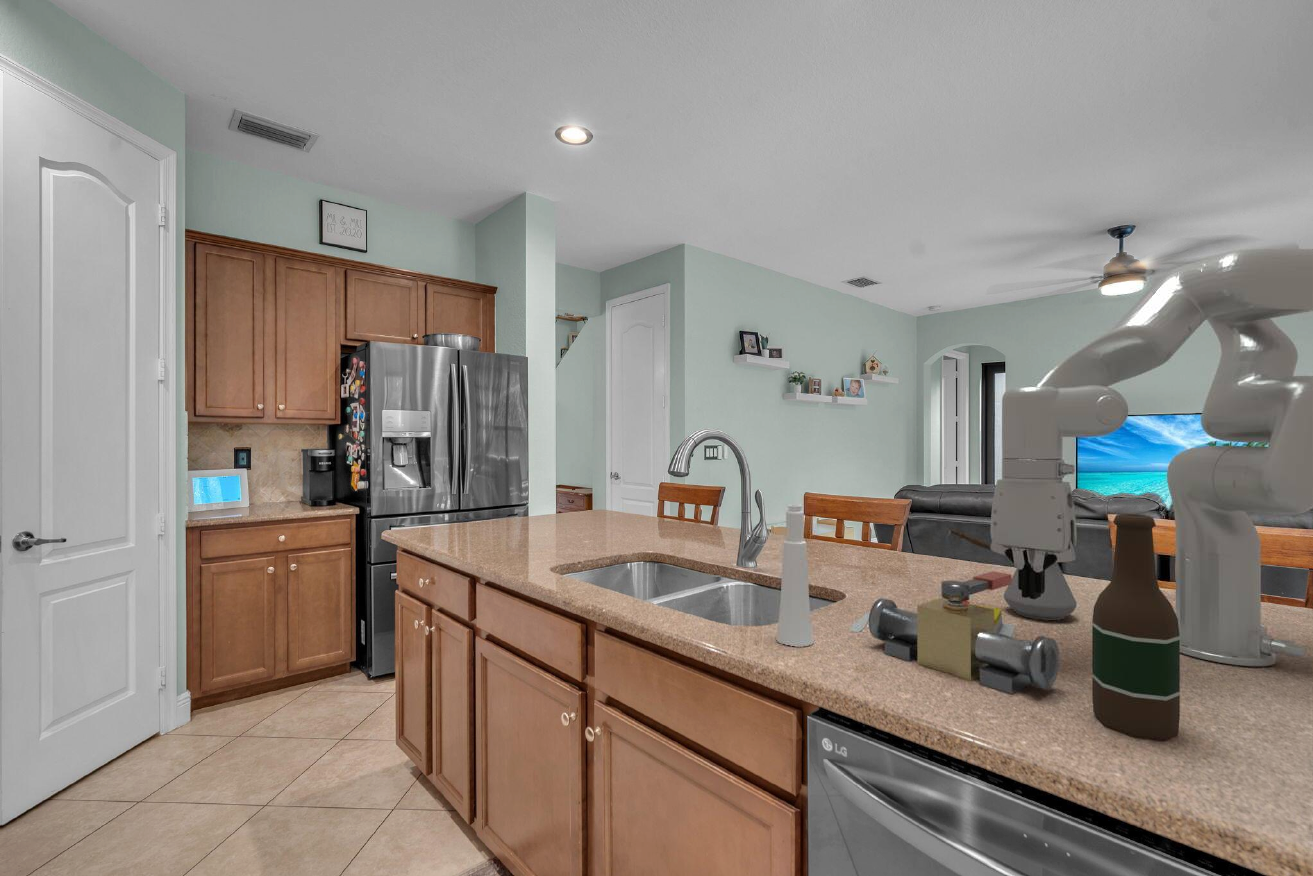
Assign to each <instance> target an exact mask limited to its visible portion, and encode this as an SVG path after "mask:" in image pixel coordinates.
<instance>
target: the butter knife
mask: <svg viewBox="0 0 1313 876" xmlns="http://www.w3.org/2000/svg"><path fill="white" fill-rule="evenodd" d="M869 614H870V611H869V612H865V613H864V614H863V616H861V618H860V619H858V620H856V621H855V622H854V623H853V625H852V626H851V627H849V629H850V630H849V632H850V631H852V632H851V633H860V632H862V630H863V629H864V628H865V627H866V626H867V624H868V622H869Z"/></svg>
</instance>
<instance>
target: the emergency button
mask: <svg viewBox="0 0 1313 876" xmlns="http://www.w3.org/2000/svg"><path fill="white" fill-rule="evenodd" d="M937 599H938V598H933V599H932V600H931V601H933V600H937ZM963 603H967V604H972V605H974V604H973V603H971V602H970V601H969V600H967V601H963ZM975 605H976V606H981V607H985V608H990V609H994V632H995V633H999V634H1003V635H1007V636H1011V637H1013V635H1014V633H1015V631H1014V629H1015V630H1016V628H1017V626H1016V625H1015V624H1012V623H1007V622H1003V618H1002V609H1001V608H1000V607H999V608H998V607H994V606H985V605H978V604H975ZM1003 629H1004V630H1003Z"/></svg>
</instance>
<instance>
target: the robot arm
mask: <svg viewBox="0 0 1313 876" xmlns="http://www.w3.org/2000/svg"><path fill="white" fill-rule="evenodd" d="M1309 312H1313V248H1251V249H1239V250H1233V251H1229V252H1225V253H1222V254H1218V255H1215V256H1212V257H1208V258H1205V259H1201V260H1198V261H1194V262H1190V263H1188V264H1183V265H1181V266H1178V267H1175V268H1173V269H1171V270H1168V271H1167V272H1166V273H1165V274H1163V275H1162V276H1161V277H1160V278H1158V279H1157V280H1156V281H1155V282H1154V283H1153V284H1152V286H1151V287H1149V289H1148V290H1147V291H1146V292H1145V293H1144V294H1143V295H1142V296H1141V298H1140V299H1139V300H1138V301H1137V302H1136V303H1135V304H1134V305H1133V306H1132V307H1131V308H1130V309H1129V311H1127V312H1126V314H1125V315H1124V316H1123V317H1122V318H1121V319H1120V320H1119V321H1118V322H1117V323H1116V324H1115V325H1114V326H1113V327H1112V328H1111V329H1110V330H1108V331H1107V332H1105V333H1104V334H1102V335H1101V336H1099V337H1097V338H1096V339H1094V340H1093V341H1090V342H1089V344H1087V345H1085V346H1083V347H1082V348H1081V349H1079V350H1077V351H1076V352H1074V353H1073V354H1071V355H1070V356H1068V357H1067V358H1065V359H1064V360H1062V361H1061V362H1060V363H1058V364H1057V365H1055V367H1053V368H1052V369H1051V370H1050V371H1048V373H1047V374H1045V376H1043V378H1042V379H1041V380H1040V381H1039V382H1038V383H1037V384H1036V385H1035V386H1020V387H1019V386H1018V387H1013V388H1009V389H1007V390H1006V391H1004V393H1003V395H1002V398H1001V478H1000V479H997V481H996V484H995V488H994V493H993V498H992V504H991V515H990V538H991V544H990V545H991V550H992V551H991V550H990V551H991V552H993V551H994V553H997V554H999V553H1000V554H999V555H1001V554H1002V555H1001V556H1003V555H1006V556H1007V557H1008V558H1007V557H1006V558H1007V559H1009V560H1010V562H1012V563H1013V565H1014V567H1015V568H1016V569H1018V589H1019V590H1022V597H1024V598H1027V597H1029V598H1030V599H1037V598H1038V597H1040V596H1041V594H1043V593H1044V591H1045V570H1046V569H1047V568H1048V567H1050V566H1051V565H1053V564H1054V563H1055V562H1057V563H1066V562H1073V561H1075V560H1076V558H1077V555H1076V552H1075V546H1076V544H1077V537H1078V536H1077V522H1076V521H1077V519H1076V511H1075V502H1074V496H1073V491H1072V486H1071V484H1070V481H1063V479H1064V478H1065V476H1068V475H1074V474H1075V471H1076V470H1075V465H1074V464H1068V463H1066V462H1065V459H1063V438H1098V437H1104V436H1107V435H1111V434H1112V433H1114V432H1116V431H1117V430H1119V429H1120V428H1121V427H1122V426H1123V425H1124V424H1125V423H1126V421H1127V419H1128V415H1129V406H1128V405H1129V404H1128V402H1127V400H1126V398H1125V397H1124V396H1123V395H1122V393H1120V392H1119V391H1117V390H1115V389H1114V388H1111V387H1110V386H1112V385H1115V384H1117V383H1120V382H1123V381H1126V380H1129V379H1131V378H1135V377H1138V376H1141V375H1143V374H1145V373H1148V372H1150V371H1152V370H1154V369H1156V368H1158V367H1160V366H1162V365H1164V364H1165V363H1167V362H1169V360H1170V359H1172V357H1173V356H1174V355H1175V353H1176V352H1178V350H1179V349H1180V348H1181V347H1182V346H1183V345H1184V344H1185V343H1186V341H1188V339H1189V338H1190V337H1191V336H1193V334H1194V333H1195V332H1196V331H1197V329H1199V328H1200V326H1201V325H1202V324H1203V323H1204V322H1205V321H1207V322H1208V324H1209V325H1210V327H1211V328H1212V329H1213V332H1214V333H1215V335H1216V336H1217V339H1218V342H1219V344H1220V350H1221V355H1220V359H1219V363H1218V366H1217V369H1216V371H1215V374H1214V376H1213V377H1214V378H1213V380H1212V383H1211V385H1210V389H1209V391H1208V393H1207V397H1206V399H1205V402H1204V406H1203V409H1202V412H1201V417H1200V424H1201V428H1202V430H1203V431H1204V432H1205V433H1206V435H1207V436H1209V437H1212V438H1213V439H1216V440H1219V441H1223V442H1231V443H1232V442H1233V443H1253V444H1255V443H1258V444H1259V443H1263V444H1265V443H1267V446H1245V445H1203V446H1196V447H1191V448H1187V449H1185V450H1182V451H1181V452H1179V453H1178V454H1176V455H1175V456H1174V457H1172V459H1171V460H1170V462H1169V464H1168V466H1167V469H1166V470H1167V471H1166V482H1167V483H1166V484H1167V487H1168V491H1169V494H1170V498H1171V504H1172V507H1173V513H1174V523H1175V527H1174V528H1175V614H1176V616H1177V618H1178V625H1179V635H1180V653H1181V654H1184V655H1187V656H1190V657H1193V658H1198V659H1201V660H1206V661H1208V662H1209V661H1210V662H1216V663H1220V664H1221V663H1222V664H1227V665H1234V666H1243V667H1268V666H1272V665H1275V664H1276V662H1277V655H1276V654H1280V655H1283V656H1286V657H1290V658H1295V659H1300V660H1305V659H1306V657H1305V656H1306V647H1305V646H1306V645H1304V644H1300V643H1296V641H1293V640H1288V639H1280V638H1274V637H1273V636H1272V635H1270V634H1268V626H1267V627H1266V626H1262V615H1261V614H1262V613H1261V612H1262V610H1261V608H1262V607H1261V605H1262V604H1261V602H1262V601H1261V599H1262V597H1261V595H1262V594H1261V591H1262V590H1261V589H1262V588H1261V587H1262V584H1261V583H1262V582H1261V580H1262V577H1261V574H1262V571H1261V566H1262V565H1261V562H1262V559H1261V557H1262V556H1261V555H1262V553H1261V552H1262V545H1261V543H1262V542H1261V539H1260V535H1259V532H1258V530H1257V528H1256V526H1255V524H1254V523H1253V521H1252V520H1251V518H1250V516H1249V515H1248V514H1247V512H1252V513H1260V514H1268V515H1281V516H1294V515H1295V516H1297V515H1299V514H1300V515H1301V514H1304V513H1306V512H1309V511H1310V510H1312V509H1313V375H1297V376H1296V375H1295V376H1294V373H1295V370H1296V367H1297V364H1298V359H1299V353H1298V349H1297V347H1296V346H1295V344H1294V342H1293V341H1292V339H1291V338H1290V337H1289V336H1288V335H1287V334H1286V333H1285V332H1284V331H1283V330H1281V329H1280V327H1279V326H1278V325H1277V324H1276V323H1275V322H1274V321H1273V320H1272V319H1275V318H1280V317H1286V316H1291V315H1297V314H1303V313H1309ZM1028 549H1029V550H1036V552H1035V558H1034V563H1033V566H1032V567H1031V564H1030V560H1029V554H1028ZM1051 552H1057V553H1052V554H1051Z"/></svg>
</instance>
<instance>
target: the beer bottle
mask: <svg viewBox="0 0 1313 876" xmlns="http://www.w3.org/2000/svg"><path fill="white" fill-rule="evenodd" d="M1112 523H1113V524H1114V525H1115V526H1116V530H1115V545H1114V559H1113V569H1112V574H1111V578H1110V583H1109V584H1107V586H1105V588H1104V589H1103V590H1102V591H1101V592H1100V593H1099V595H1098V597H1097V599H1096V601H1095V603H1094V605H1093V610H1092V611H1093V612H1092V621H1091V622H1092V623H1091V625H1092V627H1091V632H1092V634H1091V635H1092V638H1091V639H1092V640H1091V641H1092V643H1091V644H1092V645H1091V647H1092V650H1091V651H1092V653H1091V655H1092V656H1091V658H1092V659H1091V662H1092V663H1091V666H1092V668H1091V669H1092V673H1091V675H1092V680H1091V681H1092V683H1091V684H1092V685H1091V686H1092V692H1091V693H1092V696H1091V697H1092V707H1093V708H1092V710H1093V714H1094V716H1095V717H1096V718H1097V719H1098V720H1099V721H1100V723H1101V724H1103V726H1104V727H1107V728H1109V729H1112V730H1114V731H1117V732H1119V733H1121V734H1125V735H1127V736H1130V737H1133V738H1140V739H1147V740H1154V741H1155V740H1156V741H1162V742H1165V741H1166V740H1169V739H1171V738H1173V737H1175V736H1177V735H1178V733H1179V730H1180V718H1181V715H1180V714H1181V709H1180V708H1181V706H1180V705H1181V704H1180V703H1181V695H1180V694H1181V693H1180V692H1181V691H1180V690H1181V688H1180V687H1181V685H1180V683H1181V681H1180V679H1181V678H1180V677H1181V676H1180V675H1181V674H1180V673H1181V672H1180V670H1181V666H1180V663H1181V657H1180V656H1181V655H1180V635H1179V625H1178V618H1177V616H1176V611H1175V608H1173V605H1172V603H1171V602H1170V601H1169V600H1168V598H1167V596H1166V595H1165V594H1164V593H1163V591H1162V590H1161V589H1160V586H1159V581H1158V578H1157V571H1156V559H1155V550H1154V549H1155V547H1154V536H1153V535H1154V534H1153V528H1155V527H1156V526H1157V525H1156V522H1155V519H1154V517H1151V516H1150V515H1148V514H1147V515H1145V514H1139V513H1119V514H1117V515H1115V516H1114V519H1113V522H1112Z"/></svg>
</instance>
